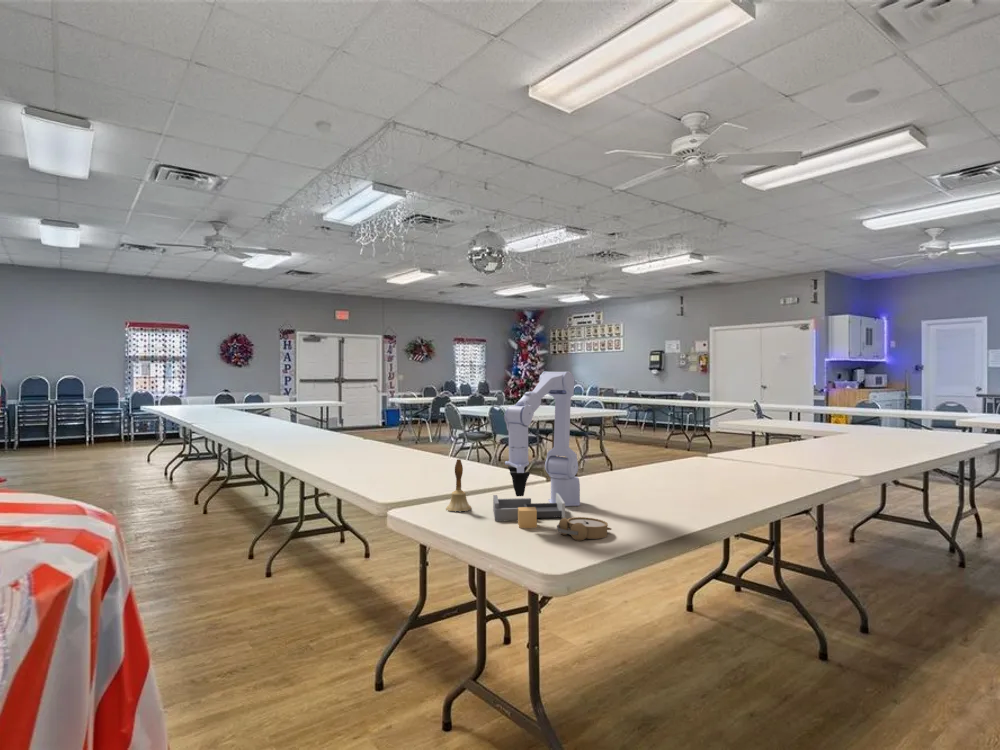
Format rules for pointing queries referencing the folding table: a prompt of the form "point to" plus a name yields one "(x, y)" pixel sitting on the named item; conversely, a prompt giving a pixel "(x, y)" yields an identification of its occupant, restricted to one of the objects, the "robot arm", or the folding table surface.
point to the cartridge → (527, 517)
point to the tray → (549, 508)
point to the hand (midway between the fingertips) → (518, 493)
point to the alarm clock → (583, 528)
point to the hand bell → (458, 492)
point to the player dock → (507, 507)
